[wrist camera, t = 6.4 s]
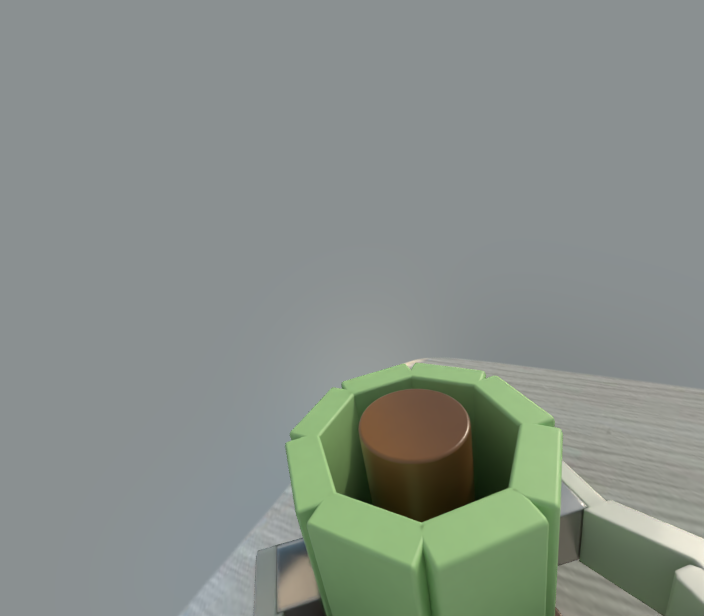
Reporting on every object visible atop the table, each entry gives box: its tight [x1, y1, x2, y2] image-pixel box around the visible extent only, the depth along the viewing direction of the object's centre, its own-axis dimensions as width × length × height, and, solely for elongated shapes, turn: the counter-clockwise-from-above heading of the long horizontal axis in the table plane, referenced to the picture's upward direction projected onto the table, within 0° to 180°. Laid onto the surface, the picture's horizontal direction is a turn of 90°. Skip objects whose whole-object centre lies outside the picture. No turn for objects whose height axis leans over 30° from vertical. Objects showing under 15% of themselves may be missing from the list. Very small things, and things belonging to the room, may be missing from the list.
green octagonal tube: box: [285, 363, 563, 616], centre depth 9 cm, size 6×6×8 cm
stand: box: [358, 389, 562, 616], centre depth 10 cm, size 8×8×10 cm
